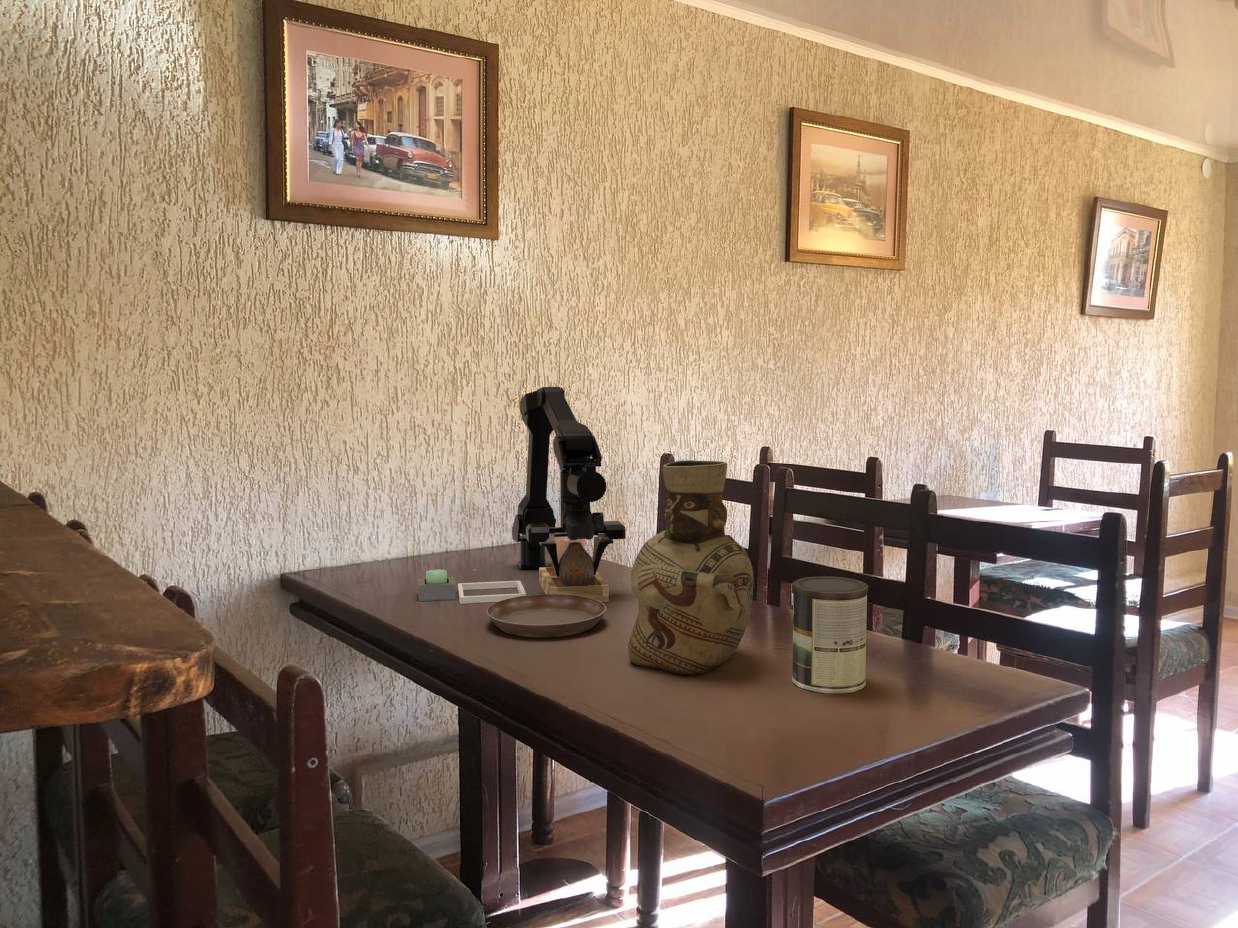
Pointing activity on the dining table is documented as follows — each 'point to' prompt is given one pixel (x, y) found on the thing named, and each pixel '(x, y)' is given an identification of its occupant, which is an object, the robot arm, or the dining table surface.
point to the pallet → (554, 586)
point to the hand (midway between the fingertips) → (575, 575)
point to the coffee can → (829, 634)
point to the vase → (576, 566)
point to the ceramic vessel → (691, 578)
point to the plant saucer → (546, 615)
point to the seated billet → (564, 546)
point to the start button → (436, 576)
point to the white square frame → (489, 585)
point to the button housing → (436, 590)
